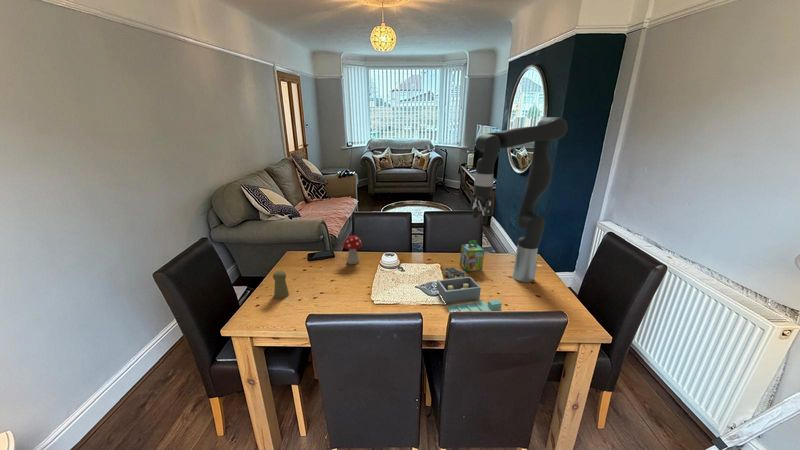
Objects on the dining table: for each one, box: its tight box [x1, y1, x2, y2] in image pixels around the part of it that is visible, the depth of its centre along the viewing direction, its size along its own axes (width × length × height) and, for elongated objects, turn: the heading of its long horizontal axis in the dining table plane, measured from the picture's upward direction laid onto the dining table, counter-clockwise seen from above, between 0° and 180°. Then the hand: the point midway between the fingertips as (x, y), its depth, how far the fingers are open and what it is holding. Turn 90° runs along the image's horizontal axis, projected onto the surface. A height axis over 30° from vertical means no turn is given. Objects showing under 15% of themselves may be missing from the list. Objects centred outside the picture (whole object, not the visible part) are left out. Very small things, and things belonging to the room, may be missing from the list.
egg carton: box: [443, 266, 468, 279], centre depth 159 cm, size 11×8×4 cm
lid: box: [445, 299, 503, 313], centre depth 132 cm, size 21×11×3 cm, turn 105°
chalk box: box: [459, 239, 485, 273], centre depth 167 cm, size 9×9×15 cm
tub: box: [436, 276, 482, 305], centre depth 142 cm, size 16×10×6 cm, turn 105°
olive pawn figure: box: [272, 270, 290, 300], centre depth 139 cm, size 6×6×11 cm
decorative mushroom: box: [342, 235, 363, 265], centre depth 170 cm, size 10×9×15 cm
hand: (479, 220), depth 141 cm, fingers open, 8 cm apart
